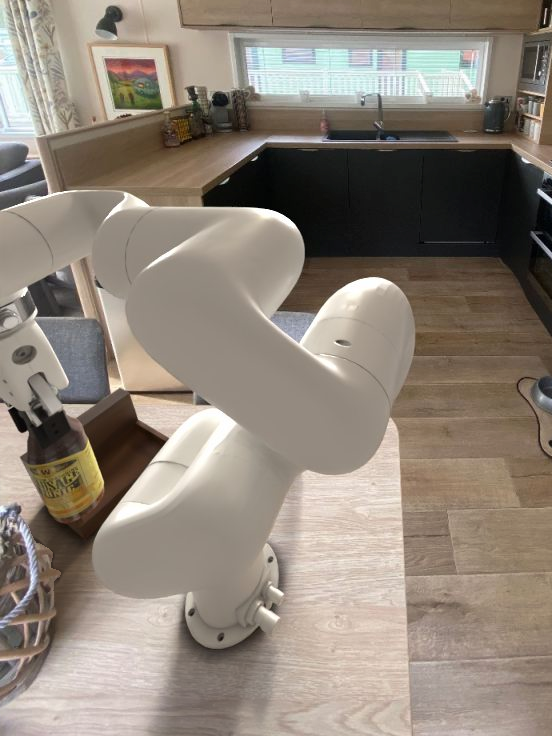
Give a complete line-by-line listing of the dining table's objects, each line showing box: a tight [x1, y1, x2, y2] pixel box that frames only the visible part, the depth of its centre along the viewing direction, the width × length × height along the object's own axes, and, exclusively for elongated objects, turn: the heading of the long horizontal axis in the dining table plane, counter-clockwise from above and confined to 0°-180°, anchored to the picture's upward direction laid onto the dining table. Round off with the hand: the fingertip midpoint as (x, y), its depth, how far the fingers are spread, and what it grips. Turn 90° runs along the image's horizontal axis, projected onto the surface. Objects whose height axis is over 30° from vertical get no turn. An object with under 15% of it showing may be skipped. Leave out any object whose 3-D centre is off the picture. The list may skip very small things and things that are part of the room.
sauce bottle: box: [17, 385, 104, 524], centre depth 52 cm, size 7×6×20 cm
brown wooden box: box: [19, 387, 170, 541], centre depth 69 cm, size 12×16×12 cm
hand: (45, 430), depth 50 cm, fingers closed on sauce bottle, 4 cm apart
